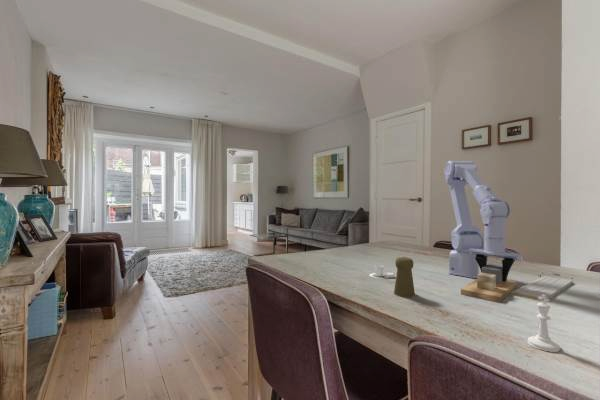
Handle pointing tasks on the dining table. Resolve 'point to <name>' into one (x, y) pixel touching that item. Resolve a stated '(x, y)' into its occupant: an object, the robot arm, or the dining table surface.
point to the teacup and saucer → (381, 272)
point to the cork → (404, 277)
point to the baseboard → (542, 287)
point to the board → (489, 291)
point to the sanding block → (494, 272)
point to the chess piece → (543, 330)
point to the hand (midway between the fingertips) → (494, 279)
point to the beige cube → (486, 281)
